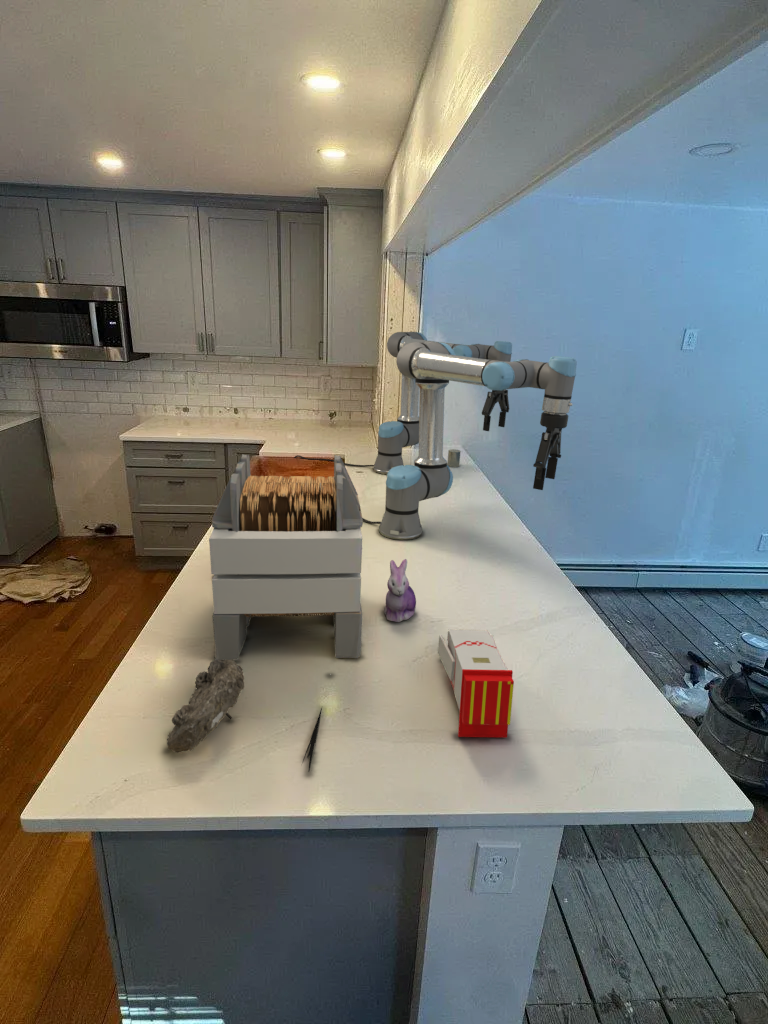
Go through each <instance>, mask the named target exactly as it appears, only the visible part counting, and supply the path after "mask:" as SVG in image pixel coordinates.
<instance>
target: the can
mask: <svg viewBox="0 0 768 1024" xmlns="http://www.w3.org/2000/svg"><path fill="white" fill-rule="evenodd" d="M461 452H462V451H461V450H460V449H455V448H453V449H451V448H450V449H448V452H447V465H448V466H449V468H459V467H460V462H461V461H460V460H461Z"/></svg>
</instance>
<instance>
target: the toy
mask: <svg viewBox="0 0 768 1024" xmlns="http://www.w3.org/2000/svg"><path fill="white" fill-rule="evenodd" d="M446 640H447V643H446V641H445V639H444V636H443V635H442V634H439V637H438V646H437V656H438V657H439V659H440V661H441V663H442V666H443V668H444V670H445V672H446V674H447V677H448V679H449V681H450V684H451V687H452V690H453V693H454V697H455V701H456V705H457V708H458V711H459V714H458V715H459V716H458V730H457V731H458V732H457V737H458V738H508V731H509V726H510V725H511V717H512V707H513V697H514V696H513V695H514V684H515V680H514V679H513V673H514V671H513V670H512V669H508V667H507V665H506V662H505V661H504V659H503V658H502V655H501V653H500V651H499V649H498V647H497V643H496V639H495V637H494V635H493V634H491V632H490V631H489V629H467V628H466V629H465V628H463V629H461V628H460V629H459V628H448V630H447V639H446Z"/></svg>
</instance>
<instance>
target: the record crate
mask: <svg viewBox="0 0 768 1024" xmlns="http://www.w3.org/2000/svg"><path fill="white" fill-rule="evenodd" d="M333 460H334V461H333V469H334V470H333V476H327V477H325V476H321V475H319V476H314V477H313V476H311V475H309V476H307V475H290V476H283V475H279V476H278V475H265V476H264V475H259V476H258V475H251V459H250V454H243V453H242V454H241V456H240V459H239V461H238V462H237V464H236V466H235V469H234V471H233V473H232V474H231V475H230V478H229V479H228V482H227V484H226V486H225V489H224V491H223V493H222V496H221V498H220V500H219V502H218V504H217V507H216V508H215V511H214V513H213V516H212V518H211V527H212V528H213V529H212V531H211V534H210V535H209V538H208V543H209V559H210V574H211V575H213V576H212V579H211V587H212V588H211V589H212V600H213V601H212V603H213V612H212V629H213V630H212V631H213V640H214V649H215V657H214V660H217V661H224V660H227V659H228V660H231V659H232V660H234V661H238V660H239V658H240V654H241V653H242V649H243V647H244V645H245V642H246V640H247V636H248V632H247V630H248V629H247V627H249V626H250V624H251V623H250V622H251V618H253V617H254V618H255V617H258V618H259V617H264V618H265V617H267V618H268V617H292V616H293V617H308V616H310V617H311V616H333V618H332V619H333V626H334V627H333V636H334V638H333V639H334V640H333V641H334V658H337V659H342V658H344V659H345V658H347V659H349V658H352V659H358V658H359V657H361V656H362V633H363V632H362V631H363V630H362V629H363V611H362V603H361V590H362V576H361V574H362V563H363V562H362V561H363V534H362V529H361V528H362V527H363V525H364V524H363V523H364V521H363V519H362V518H363V515H362V509H361V505H360V499H359V494H358V492H357V489H356V487H355V485H354V483H353V481H352V478H351V477H350V474H349V472H348V470H347V468H346V465H344V463H345V462H344V461H343V459H342V456H341V455H336V454H334V458H333Z"/></svg>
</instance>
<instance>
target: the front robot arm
mask: <svg viewBox="0 0 768 1024" xmlns="http://www.w3.org/2000/svg"><path fill="white" fill-rule="evenodd" d="M441 342H442V341H435V342H413V343H409V344H406V345H405V346H403V347H402V348H401V350H400V351H399V353H398V355H397V358H396V359H395V360H396V367H397V369H398V371H399V373H400V374H401V376H402V375H404V376H405V377H407V378H412V379H415V383H416V384H417V386H418V387H419V402H418V416H419V443H418V456H417V457H416V458H415V459H414V462H413V464H404V466H403V465H400V466H396V467H393V468H392V469H390V470H389V471H388V474H387V475H386V479H385V504H384V505H385V507H384V508H385V509H384V513H383V515H382V519H381V521H372V520H367V519H365V518H364V517H362V519H363V522H365V523H367V524H369V525H379V527H378V533H379V534H380V535H381V536H382V537H385V538H387V539H389V540H395V541H410V540H415V539H418V538H420V537H421V536H422V535H423V525H422V524H421V518H420V515H419V507H420V506H419V505H420V502H422V501H426V500H429V499H434V498H439V497H441V496H442V495H445V494H446V493H448V492H449V491H450V489H451V488H452V486H453V482H454V475H453V471H451V467H449V466H448V465H447V462H448V460H446V458H445V457H444V427H445V426H444V424H445V421H444V420H445V391H446V390H445V389H446V387H447V386H448V385H449V384H450V382H456V383H463V384H468V385H475V386H479V387H486V388H487V389H489V390H491V391H492V390H498V391H502V390H512V389H513V390H514V389H524V388H525V389H526V388H533V389H537V390H538V389H539V390H544V394H543V400H542V407H541V410H542V412H541V413H540V421H539V424H540V426H542V427H545V432H544V431H542V433H541V438H540V443H539V446H538V449H537V454H536V457H535V462H534V463H533V464H532V465H533V466H532V467H534V468H535V471H534V472H535V473H534V479H533V486H532V489H533V490H539V491H543V490H544V485H545V480H546V479H550V480H555V478H556V473H557V466H558V460H559V459H561V457H562V454H561V449H562V432H563V429H566V428H567V426H568V423H569V415H568V414H569V413H570V409H571V407H572V406H573V405H574V404H573V403H572V402H571V401H572V396H573V390H574V384H575V381H576V380H575V379H576V376H577V365H578V364H577V363H578V361H577V359H576V358H575V357H570V356H559V355H553V356H551V357H550V358H549V360H548V362H545V361H537V360H530V359H528V358H526V359H525V358H522V359H520V358H517V359H514V360H513V361H510V362H504V361H496V360H487V359H479V358H472V357H464V356H456V355H455V352H454V351H453V349H452V348H451V347H450V346H449V345H448V344H446V343H447V342H444V343H441Z"/></svg>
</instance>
